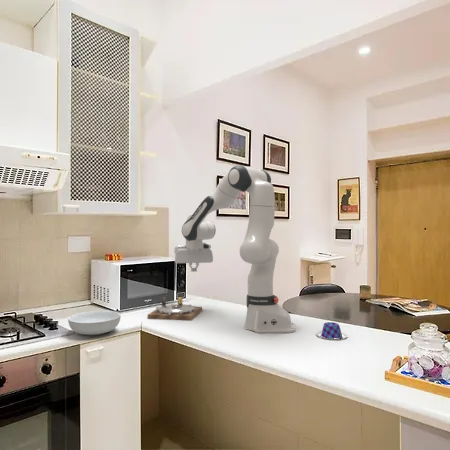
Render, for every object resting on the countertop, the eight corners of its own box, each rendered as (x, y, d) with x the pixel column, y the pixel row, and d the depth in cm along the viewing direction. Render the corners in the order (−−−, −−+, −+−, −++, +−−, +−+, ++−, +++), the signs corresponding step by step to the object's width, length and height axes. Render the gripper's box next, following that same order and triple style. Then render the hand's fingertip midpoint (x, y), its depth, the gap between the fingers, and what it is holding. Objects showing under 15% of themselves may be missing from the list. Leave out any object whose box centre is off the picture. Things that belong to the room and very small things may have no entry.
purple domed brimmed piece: (348, 342, 140) (348, 328, 140) (315, 340, 143) (315, 326, 143) (346, 333, 152) (346, 321, 152) (316, 331, 155) (316, 319, 155)
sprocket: (200, 306, 196) (200, 296, 196) (190, 315, 175) (190, 304, 175) (163, 305, 199) (163, 295, 199) (149, 313, 178) (149, 303, 178)
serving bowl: (56, 337, 147) (56, 319, 148) (89, 324, 167) (90, 309, 168) (100, 341, 141) (100, 323, 141) (130, 328, 161) (130, 312, 161)
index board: (202, 310, 196) (202, 297, 196) (191, 320, 174) (191, 305, 174) (162, 309, 200) (162, 296, 200) (147, 318, 178) (147, 304, 178)
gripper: (175, 245, 191) (175, 272, 190) (213, 245, 196) (213, 271, 196) (173, 245, 197) (173, 271, 197) (211, 245, 202) (210, 270, 202)
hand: (193, 271), depth 196 cm, fingers closed
